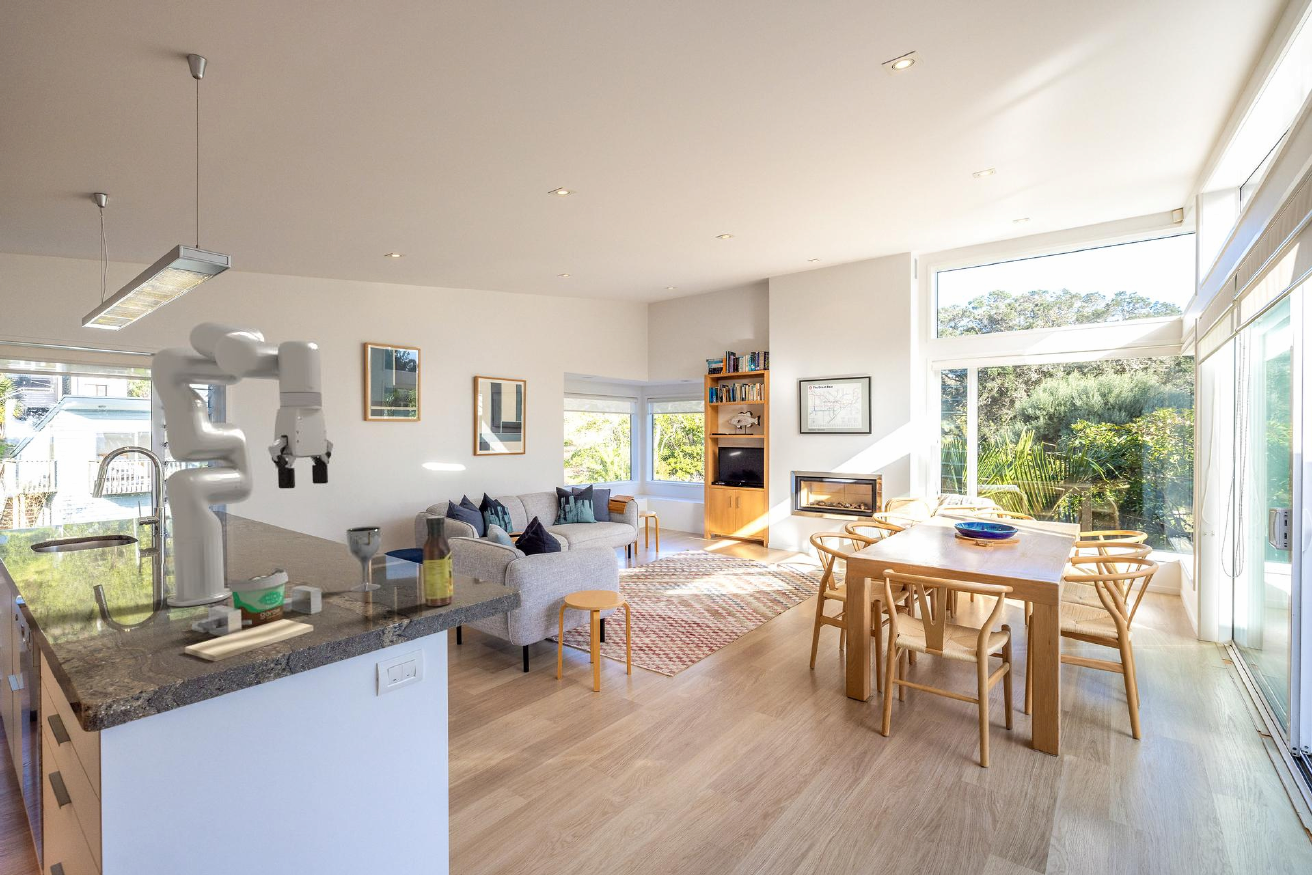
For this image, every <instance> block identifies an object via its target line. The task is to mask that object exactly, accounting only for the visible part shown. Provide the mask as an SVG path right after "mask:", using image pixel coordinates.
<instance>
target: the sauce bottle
mask: <svg viewBox="0 0 1312 875" xmlns="http://www.w3.org/2000/svg"><path fill="white" fill-rule="evenodd" d="M445 522H446V518H445V516H444V515H435V516H433V515H432V516H427V517H426V519H425V524H426V525H427V526H426V527H427V528H426V529H427V530H426V531H427V534H426V535H427V539H426V541H425V542H424V544H423V547H422V557H423V558H422V570H423V572H422V573H423V590H424V591H423V592H424V596H423V597H424V600H425V605H426V606H427V607H441V606H446V605H448V604H451V603H452V602H453V600H454V599H453V595H454V584H453V583H454V581H453V580H454V578H453V560H452V559H453V557H452V548H451V546H450V543H449V541H448V540H449V539H448V538H447V535H446V531H445Z"/></svg>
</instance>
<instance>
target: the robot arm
mask: <svg viewBox="0 0 1312 875" xmlns="http://www.w3.org/2000/svg"><path fill="white" fill-rule="evenodd" d="M188 340H189V343H190V345H191V347H168V348H164V349H161V350H159V351H158V352H156V353H155V354H154V356H153V358H152V361H151V366H150V372H151V373H150V374H151V380H152V383H153V386H154V389H155V391H156V394H157V395H158V397H159V399H160V401H161V404H162V408H163V413H164V414H163V415H164V423H165V431H166V437H167V438H166V439H167V445H168V450H169V454H170V456H171V457H172V459H173V460H174V461H176V462H178V463H188V464H189V463H209V462H220V464H221V466H203V467H201V466H200V467H189V468H183V469H180V470H176V471H174V472H173V473H171V475H169V476H168V477H167V479H166V481H165V494H166V497H167V501H168V505H169V509H170V510H169V511H170V515H171V516H170V517H171V525H172V546H173V569H174V570H173V571H174V572H173V574H174V577H173V578H174V584H173V588H174V595H172V596H171V595H170V597H168V598H167V600H166V603H167V604H166V605H168V606H170V607H191V606H200V605H207V604H212V603H215V602H219V601H223V600H225V599H227V598H230V597H231V596H233V593H232V592H229V591H230V588H227V587H225V578H224V575H225V573H224V571H225V570H224V550H223V546H224V545H223V526H222V523H221V521H220V519H219V517H218V516H217V515H216V514H215V513H214V512H213V511H212V510H211V508H210V507H215V506H224V505H232V504H239V503H243V502H245V501H247V500H248V499H249V498H250V497H252V496H251V495H252V494H253V490H254V481H253V470H252V464H251V457H250V450H249V449H250V448H249V443H248V439H247V436H246V434H245V432H244V430H243V429H242V428H241V427H240V426H239V425H237V424H234V423H230V422H212V421H211V420H210V417H209V409H208V404H207V401H205V399H204V398H203V397H202V395H200V394H199V392H197V390H195V389H194V388H193V387H192V386H190V385H203V386H205V385H206V386H207V385H209V386H232V385H236V384H238V383H240V382H241V381H242V380H244V379H251V380H252V379H253V380H254V379H255V380H256V379H257V380H273V381H274V380H276V381H278V389H279V391H278V392H279V409H277V411H276V416H275V421H274V422H275V423H274V438H273V440H274V441H273V443H271V444H270V445H269V446H268V447H267V449H268V452H269V454H270V456H271V461H272V462H273V464H274V466H275V468H276V469H277V480H278V488H279V489H295V487H296V475H295V474H296V473H295V472H296V471H295V467H293V465H294V463H295V462H296V459H298V458H299V459H300V458H310V459H311V461H312V462H313V464H312V466H311V470H312V471H311V472H312V475H311V476H312V483H313V484H314V485H316V484H317V485H323V484H325V485H326V484H328V483H329V475H328V474H329V473H328V472H329V471H328V470H329V468H328V465H329V464H330V458H332V452H333V449H334V448H333V447H334V444H333V442H331V441H330V440H328V438H327V428H326V421H325V417H324V416H325V415H324V413H323V412H324V411H323V400H322V373H321V372H322V371H321V367H322V366H321V349H320V347H319V346H318V344H316V343H314V342H311V341H305V340H303V341H302V340H288V341H283V342H281V343H279V344H278V343H272V342H271V343H269V342H266V339H265V337H264V336H263V334H262V332H261V331H260V330H259V329H257V328H255V327H253V326H250V325H244V324H236V323H226V322H220V321H206V322H201V323H199V324H197V325H195V326H194V327H193V328H192V329H191V331H190V333H189V339H188Z"/></svg>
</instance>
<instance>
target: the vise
mask: <svg viewBox="0 0 1312 875" xmlns="http://www.w3.org/2000/svg"><path fill="white" fill-rule="evenodd" d="M290 590H291V591H290V593H291V594H290V595H291V597H285V598H284V602H283V612H284V611H287V610H292V611H293V612H299V613H303V614H304V613H305V614H309V615H314V614H316V613H320V612H322V610H323V609H322V607H323V605H322V588H319V587H313V586H307V585H298V586H294V587H291V588H290ZM207 611H208V618H204V619H201V620H197V621H193V622H191V623H192V624H191V627H192V628H191V629H192V631H195V632H199V633H202V634H203V633H207V632H209V634H210V635H214V636H218V637H223V636H226V635H230V634H233V633H237V632H240V631H243V630H242V629H243V628H242V627H241V609H236V608H234V607H232V606H227V605H222V604H220V605H216V606H214V607H209V608H208V610H207Z"/></svg>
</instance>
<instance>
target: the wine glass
mask: <svg viewBox="0 0 1312 875" xmlns="http://www.w3.org/2000/svg"><path fill="white" fill-rule="evenodd" d="M345 532H346V533H345V534H346V543H347V548H348V551H349V553H350V554H351V556H353V557H354V558H355V559H356V560H357V561H358V562H359V563H360V566H361V568H362V574H363V583H362V584H359V585H356V586H353V587H351V588H350V589H349V591H350V592H353V593H354V592H355V593H362V592H365V593H366V592H370V591H375V590H378V589H380V588H381V587H382V586H381V585H380V584H376V583H369V582H368V567H369V564H370V562H371V560H372V559H373V558H374V556H375V555H376V554H377V553H378V551H379V549H380V546H381V540H382V527H381V526H378V525H377V526H373V525H372V526H370V525H369V526H368V525H367V526H359V527H358V526H357V527H352V528H348V529H346V531H345Z"/></svg>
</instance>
